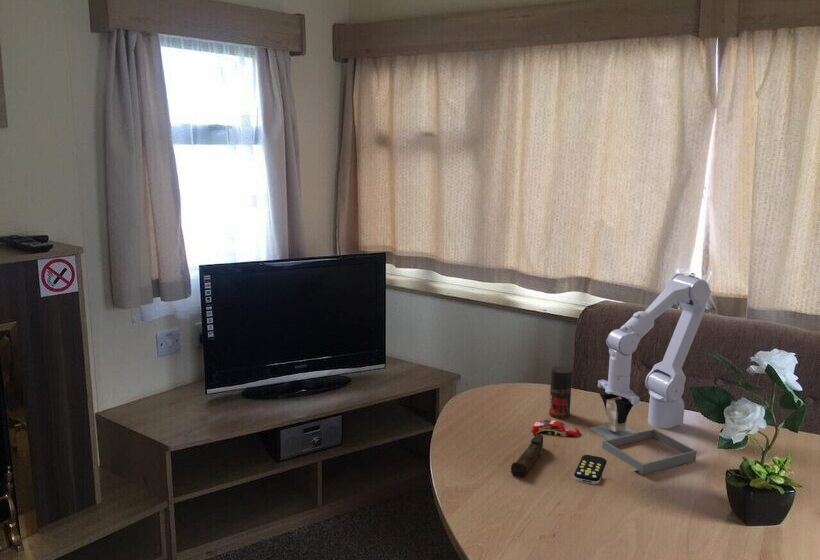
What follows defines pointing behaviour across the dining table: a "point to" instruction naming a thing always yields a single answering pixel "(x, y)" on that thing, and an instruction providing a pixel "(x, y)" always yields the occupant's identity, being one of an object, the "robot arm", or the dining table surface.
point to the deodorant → (560, 392)
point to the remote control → (590, 469)
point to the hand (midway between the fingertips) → (615, 419)
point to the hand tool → (528, 457)
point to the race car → (554, 428)
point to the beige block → (613, 416)
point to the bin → (653, 466)
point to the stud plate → (611, 432)
